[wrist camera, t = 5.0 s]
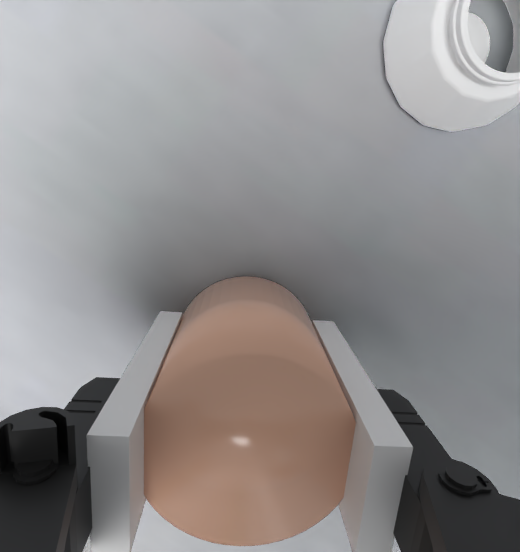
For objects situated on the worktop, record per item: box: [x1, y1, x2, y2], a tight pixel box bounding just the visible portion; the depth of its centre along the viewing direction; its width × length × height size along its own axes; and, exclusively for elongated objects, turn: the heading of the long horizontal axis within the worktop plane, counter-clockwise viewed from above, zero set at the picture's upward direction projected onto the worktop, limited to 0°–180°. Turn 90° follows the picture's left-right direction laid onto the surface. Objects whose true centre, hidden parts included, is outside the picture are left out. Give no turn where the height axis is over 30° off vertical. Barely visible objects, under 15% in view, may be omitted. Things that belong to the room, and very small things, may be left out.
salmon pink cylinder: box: [144, 276, 356, 546], centre depth 11 cm, size 5×5×6 cm
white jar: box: [383, 0, 520, 132], centre depth 11 cm, size 5×3×5 cm
